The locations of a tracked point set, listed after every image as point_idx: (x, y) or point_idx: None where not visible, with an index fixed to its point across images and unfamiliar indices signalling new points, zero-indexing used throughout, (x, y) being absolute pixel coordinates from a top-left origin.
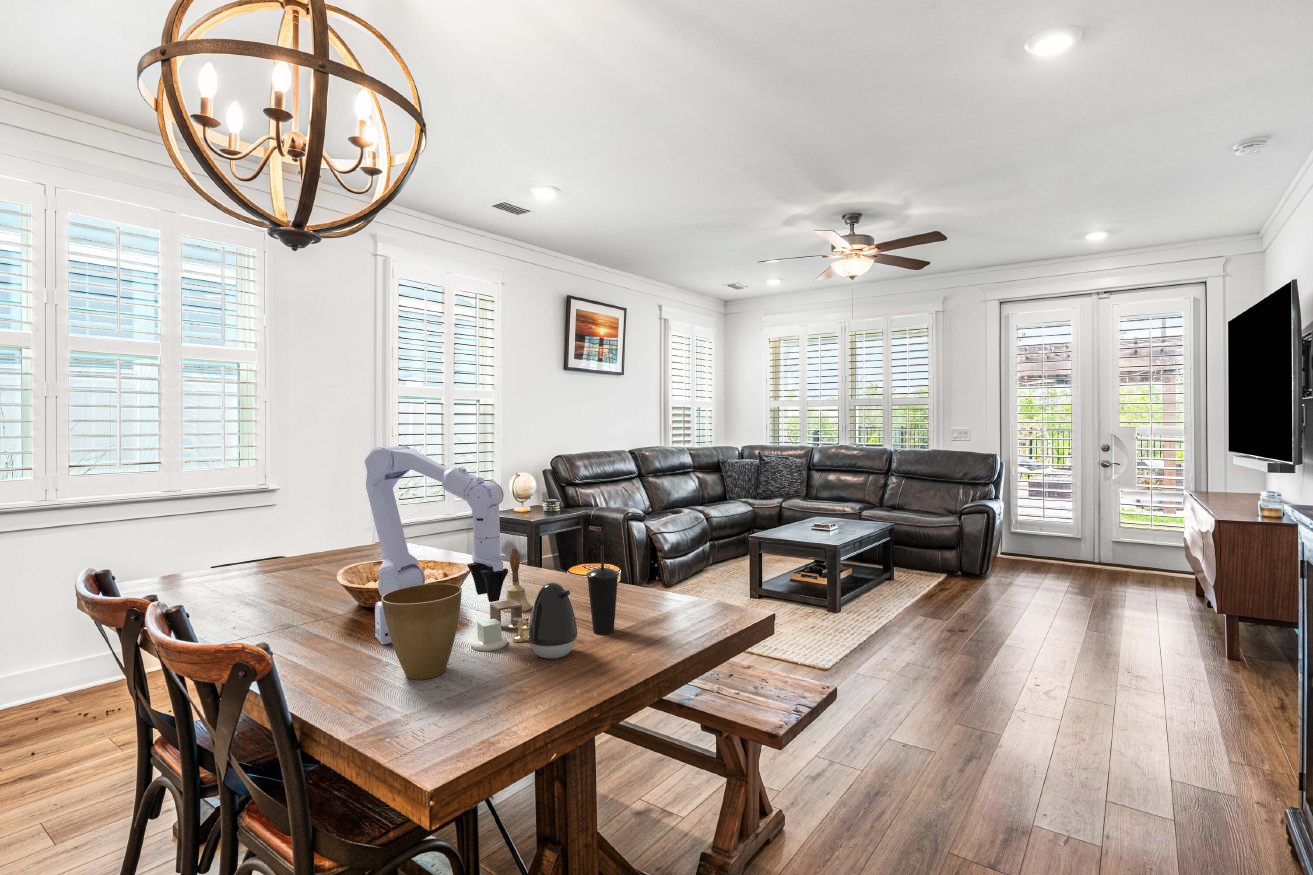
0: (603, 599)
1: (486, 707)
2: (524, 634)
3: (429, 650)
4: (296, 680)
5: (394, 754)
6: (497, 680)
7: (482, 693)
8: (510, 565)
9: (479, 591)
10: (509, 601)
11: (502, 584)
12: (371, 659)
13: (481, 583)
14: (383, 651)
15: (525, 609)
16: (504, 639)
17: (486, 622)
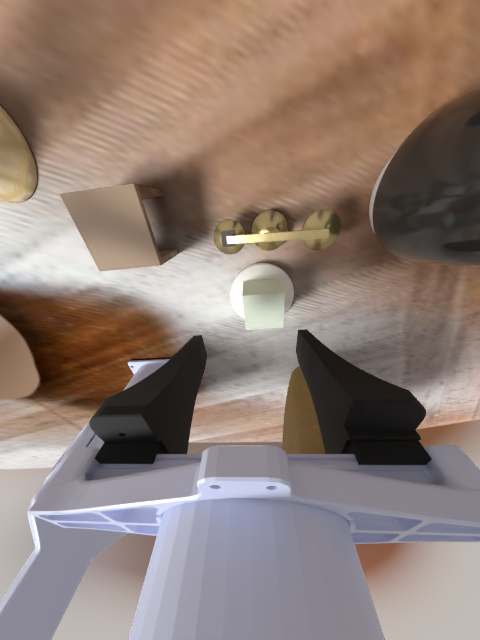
0: None
1: (476, 351)
2: (261, 218)
3: None
4: (253, 440)
5: (467, 415)
6: (416, 321)
7: (434, 345)
8: None
9: (205, 359)
10: (87, 212)
11: (343, 359)
12: (232, 404)
13: (195, 371)
14: (211, 395)
15: (12, 125)
16: (273, 271)
17: (260, 316)
